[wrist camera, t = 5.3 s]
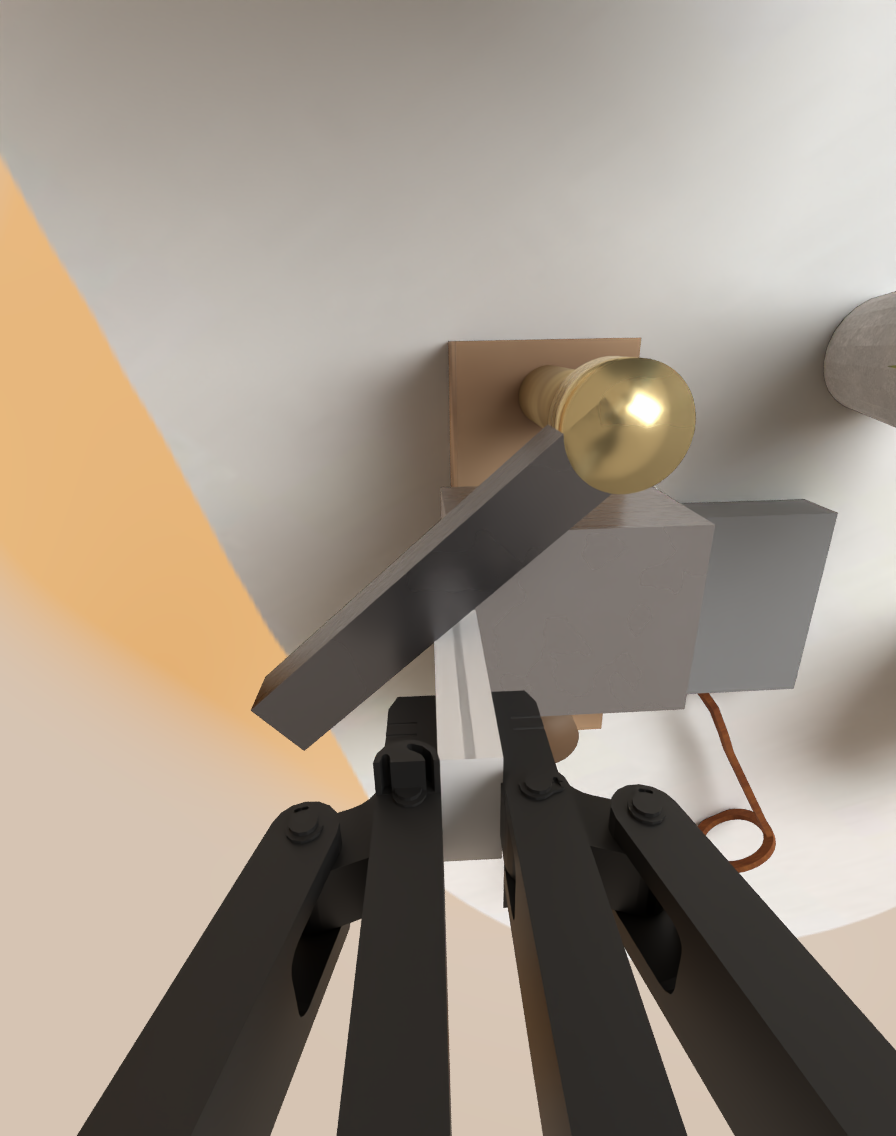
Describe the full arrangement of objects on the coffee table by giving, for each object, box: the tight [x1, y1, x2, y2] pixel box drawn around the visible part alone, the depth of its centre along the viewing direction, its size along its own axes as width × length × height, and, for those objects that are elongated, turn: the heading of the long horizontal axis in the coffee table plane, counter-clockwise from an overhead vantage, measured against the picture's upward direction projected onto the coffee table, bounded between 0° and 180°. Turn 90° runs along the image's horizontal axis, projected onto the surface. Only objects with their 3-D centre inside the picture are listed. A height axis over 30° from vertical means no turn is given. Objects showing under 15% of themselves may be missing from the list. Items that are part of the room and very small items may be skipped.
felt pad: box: [682, 499, 838, 694], centre depth 30 cm, size 10×7×2 cm
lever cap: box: [441, 486, 715, 716], centre depth 22 cm, size 7×8×6 cm
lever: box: [251, 356, 696, 750], centre depth 15 cm, size 14×3×2 cm, turn 132°
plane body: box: [448, 338, 641, 763], centre depth 23 cm, size 18×7×12 cm, turn 1°
